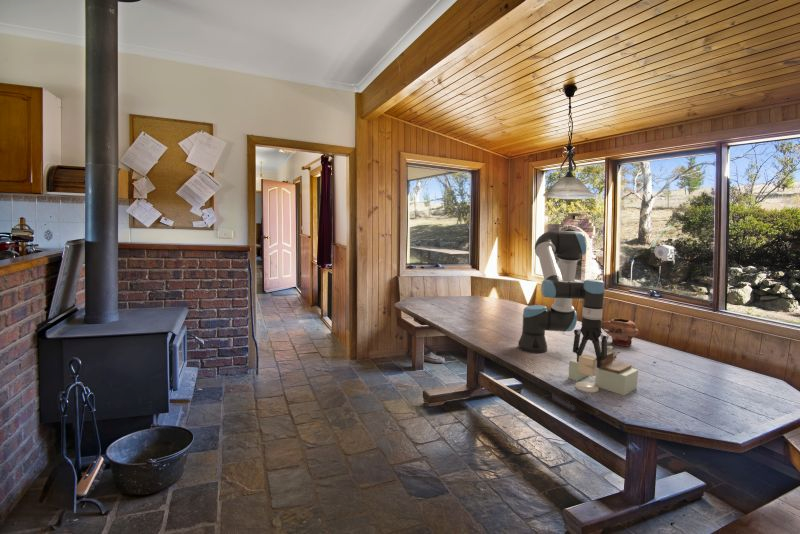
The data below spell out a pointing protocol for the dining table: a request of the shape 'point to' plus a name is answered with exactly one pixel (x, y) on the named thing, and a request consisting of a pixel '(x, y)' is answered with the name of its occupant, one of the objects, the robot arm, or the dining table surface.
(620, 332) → the decorative planter
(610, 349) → the game die
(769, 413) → the dining table surface
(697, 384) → the dining table surface
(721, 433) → the dining table surface
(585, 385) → the cream coaster
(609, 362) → the walnut cover
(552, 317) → the robot arm
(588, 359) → the maple block
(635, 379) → the pale green split block
